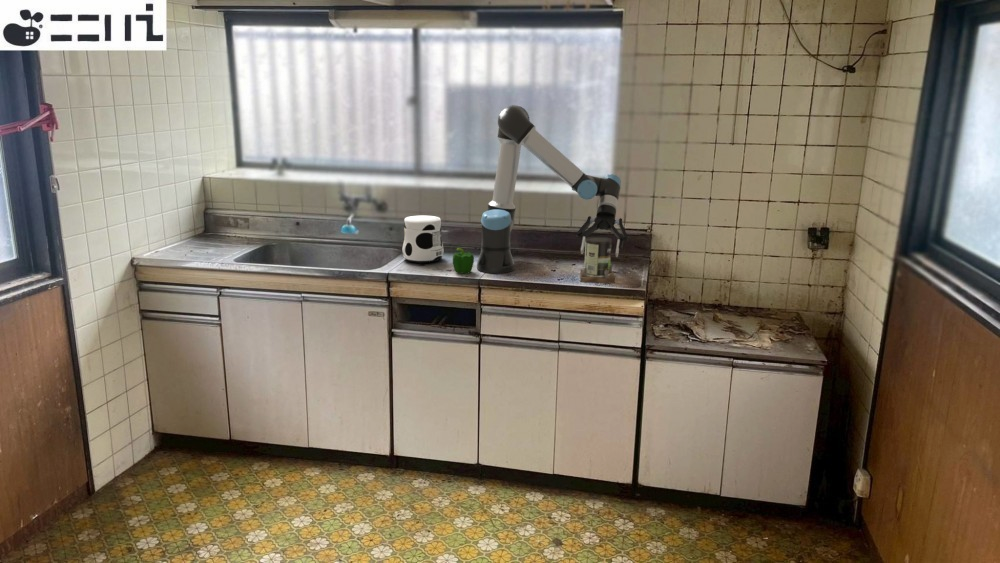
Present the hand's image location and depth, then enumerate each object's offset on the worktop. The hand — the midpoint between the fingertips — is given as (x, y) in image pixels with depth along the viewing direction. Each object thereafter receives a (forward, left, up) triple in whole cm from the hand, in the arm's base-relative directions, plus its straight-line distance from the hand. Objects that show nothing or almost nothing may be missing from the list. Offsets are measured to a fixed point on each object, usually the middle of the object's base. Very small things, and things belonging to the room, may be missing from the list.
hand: (599, 253), depth 276 cm
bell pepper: (-53, 0, -10) cm, 54 cm away
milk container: (-73, +17, -10) cm, 76 cm away
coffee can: (0, 0, -8) cm, 8 cm away
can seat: (-1, 0, -10) cm, 10 cm away
